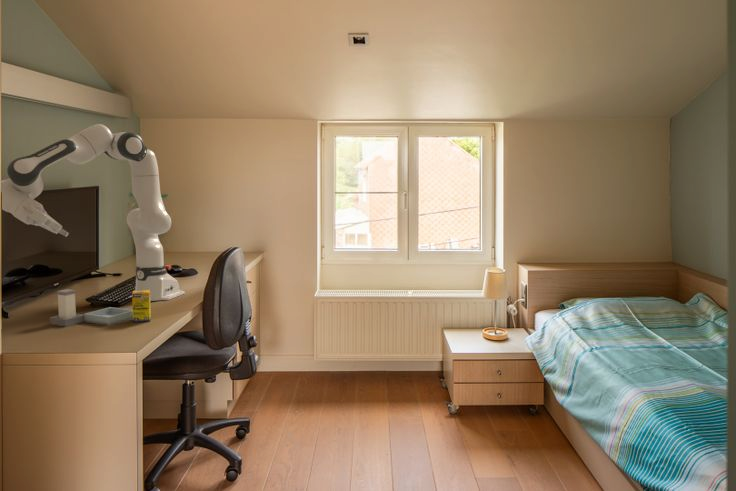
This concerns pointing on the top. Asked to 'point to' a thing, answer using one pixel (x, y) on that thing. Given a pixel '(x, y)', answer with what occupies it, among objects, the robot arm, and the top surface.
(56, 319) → the socket
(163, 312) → the top surface
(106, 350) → the top surface
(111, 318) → the tray
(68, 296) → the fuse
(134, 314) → the supplement box
